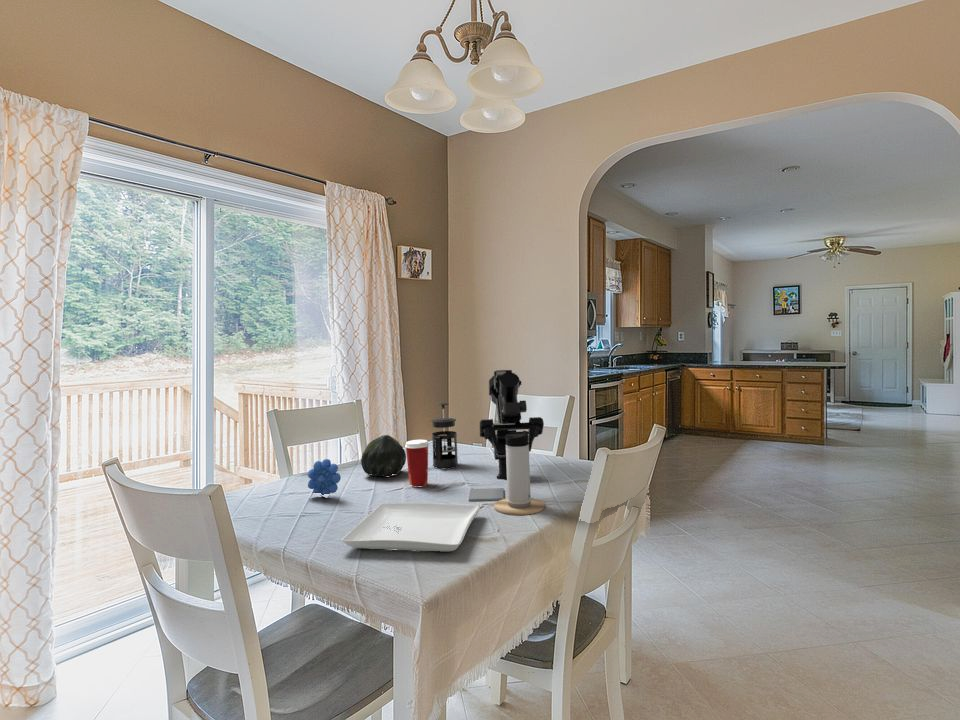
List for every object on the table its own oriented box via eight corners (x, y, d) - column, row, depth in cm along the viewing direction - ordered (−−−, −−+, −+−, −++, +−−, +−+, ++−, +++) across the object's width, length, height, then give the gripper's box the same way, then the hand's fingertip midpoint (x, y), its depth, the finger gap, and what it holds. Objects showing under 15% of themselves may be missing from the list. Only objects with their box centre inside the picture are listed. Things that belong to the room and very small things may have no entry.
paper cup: (435, 484, 170) (433, 440, 170) (417, 489, 165) (415, 445, 164) (419, 480, 176) (417, 438, 175) (401, 485, 170) (399, 442, 170)
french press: (439, 461, 200) (437, 401, 199) (462, 462, 197) (460, 401, 196) (426, 469, 189) (423, 405, 188) (450, 471, 186) (448, 405, 185)
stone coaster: (470, 490, 162) (470, 488, 162) (503, 489, 161) (503, 488, 161) (468, 501, 152) (468, 499, 152) (503, 500, 151) (503, 498, 151)
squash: (367, 453, 194) (361, 428, 183) (408, 453, 194) (405, 427, 184) (362, 487, 184) (356, 462, 173) (405, 487, 184) (402, 462, 174)
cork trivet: (498, 497, 154) (498, 496, 154) (547, 499, 151) (547, 497, 151) (489, 514, 140) (489, 512, 140) (542, 516, 137) (542, 514, 137)
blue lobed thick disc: (349, 495, 162) (347, 456, 161) (336, 502, 156) (334, 461, 155) (318, 492, 166) (316, 454, 165) (303, 499, 160) (301, 459, 159)
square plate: (460, 561, 113) (459, 543, 113) (339, 556, 118) (338, 539, 117) (481, 517, 140) (481, 502, 139) (382, 514, 144) (381, 500, 144)
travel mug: (536, 505, 144) (533, 432, 144) (515, 510, 141) (513, 435, 140) (523, 499, 150) (521, 429, 149) (503, 503, 147) (501, 432, 146)
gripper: (478, 392, 156) (481, 437, 146) (541, 390, 157) (549, 434, 147) (478, 414, 164) (481, 458, 154) (538, 412, 165) (545, 455, 155)
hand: (514, 451), depth 152 cm, fingers open, 9 cm apart
